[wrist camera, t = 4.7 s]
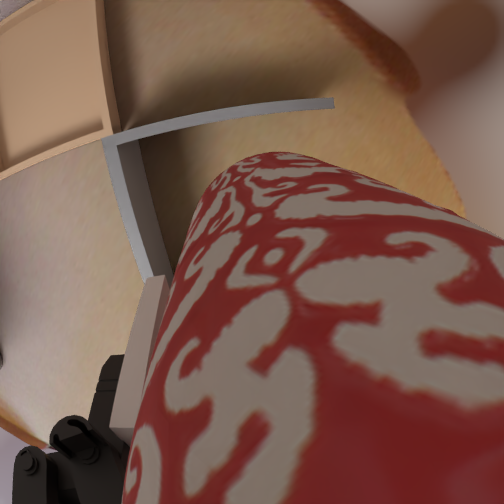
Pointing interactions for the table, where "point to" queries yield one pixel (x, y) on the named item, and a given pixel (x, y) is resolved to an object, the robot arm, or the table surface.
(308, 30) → the table surface
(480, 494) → the mug
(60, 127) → the tray
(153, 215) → the bay
